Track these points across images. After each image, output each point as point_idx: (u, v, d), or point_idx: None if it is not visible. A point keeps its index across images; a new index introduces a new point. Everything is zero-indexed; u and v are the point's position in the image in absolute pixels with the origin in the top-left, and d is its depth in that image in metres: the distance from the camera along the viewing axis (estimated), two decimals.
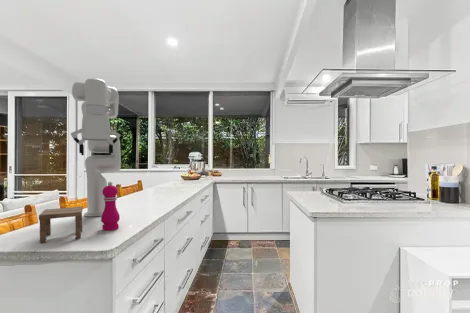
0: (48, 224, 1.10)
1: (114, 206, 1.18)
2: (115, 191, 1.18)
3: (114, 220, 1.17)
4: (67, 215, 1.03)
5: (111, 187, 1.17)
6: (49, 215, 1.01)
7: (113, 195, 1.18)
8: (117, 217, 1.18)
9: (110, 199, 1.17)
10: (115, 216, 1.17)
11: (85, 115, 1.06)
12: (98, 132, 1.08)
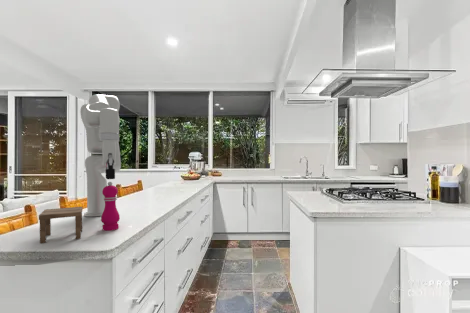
0: (48, 224, 1.10)
1: (114, 206, 1.18)
2: (115, 191, 1.18)
3: (114, 220, 1.17)
4: (67, 215, 1.03)
5: (111, 187, 1.17)
6: (49, 215, 1.01)
7: (113, 195, 1.18)
8: (117, 217, 1.18)
9: (110, 199, 1.17)
10: (115, 216, 1.17)
11: (115, 142, 1.16)
12: None
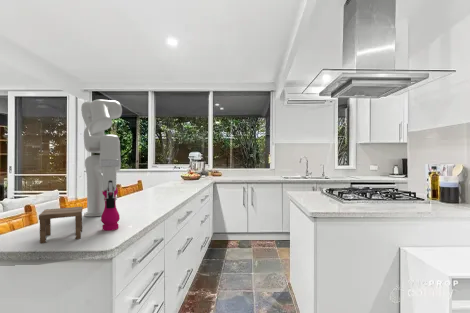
0: (48, 224, 1.10)
1: None
2: (115, 191, 1.18)
3: (114, 220, 1.17)
4: (67, 215, 1.03)
5: None
6: (49, 215, 1.01)
7: None
8: (117, 217, 1.18)
9: None
10: (115, 216, 1.17)
11: (115, 169, 1.17)
12: None
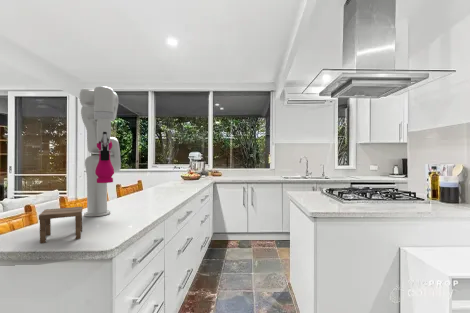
0: (48, 224, 1.10)
1: None
2: (109, 144, 1.16)
3: (108, 173, 1.15)
4: (67, 215, 1.03)
5: None
6: (49, 215, 1.01)
7: None
8: (112, 170, 1.17)
9: None
10: (110, 169, 1.16)
11: (109, 121, 1.15)
12: None
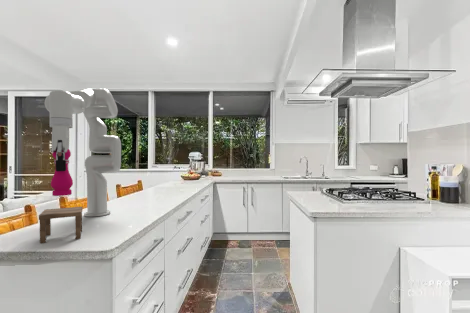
0: (48, 224, 1.10)
1: (66, 170, 1.07)
2: (66, 153, 1.06)
3: (65, 184, 1.05)
4: (67, 215, 1.03)
5: None
6: (49, 215, 1.01)
7: None
8: (69, 182, 1.07)
9: None
10: (66, 180, 1.06)
11: (66, 128, 1.05)
12: (68, 145, 1.09)
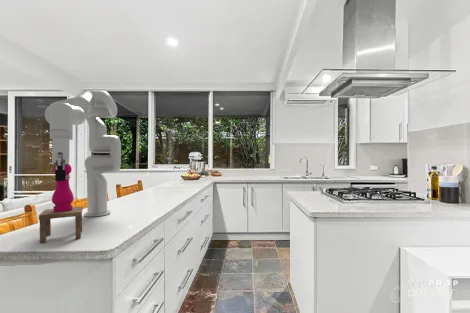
0: (48, 224, 1.10)
1: (67, 185, 1.08)
2: (67, 168, 1.07)
3: (66, 200, 1.06)
4: (67, 215, 1.03)
5: None
6: (49, 215, 1.01)
7: None
8: (70, 197, 1.08)
9: None
10: (68, 196, 1.07)
11: (66, 140, 1.06)
12: None
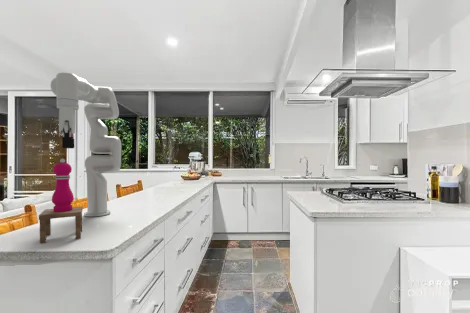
0: (48, 224, 1.10)
1: (67, 185, 1.08)
2: (67, 168, 1.07)
3: (66, 200, 1.06)
4: (67, 215, 1.03)
5: (63, 164, 1.07)
6: (49, 215, 1.01)
7: (65, 173, 1.07)
8: (70, 197, 1.08)
9: (62, 177, 1.06)
10: (68, 196, 1.07)
11: (72, 109, 1.09)
12: None
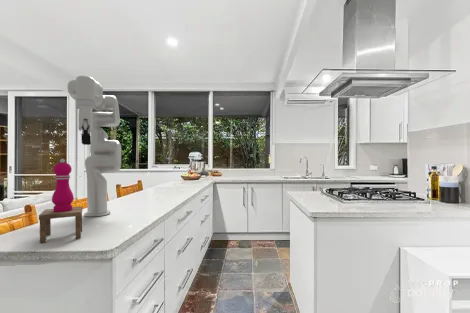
0: (48, 224, 1.10)
1: (67, 185, 1.08)
2: (67, 168, 1.07)
3: (66, 200, 1.06)
4: (67, 215, 1.03)
5: (63, 164, 1.07)
6: (49, 215, 1.01)
7: (65, 173, 1.07)
8: (70, 197, 1.08)
9: (62, 177, 1.06)
10: (68, 196, 1.07)
11: (90, 108, 1.21)
12: None
